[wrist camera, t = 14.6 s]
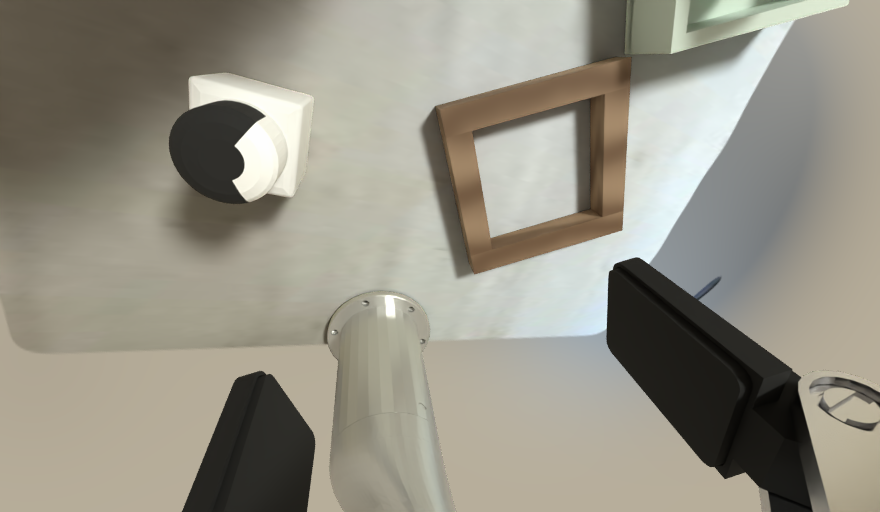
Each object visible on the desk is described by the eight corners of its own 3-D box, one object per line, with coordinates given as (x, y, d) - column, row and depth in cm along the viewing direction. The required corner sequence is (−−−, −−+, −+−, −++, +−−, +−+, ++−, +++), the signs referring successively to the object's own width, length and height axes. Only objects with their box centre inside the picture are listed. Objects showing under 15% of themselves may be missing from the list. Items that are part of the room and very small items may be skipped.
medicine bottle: (222, 156, 32) (155, 203, 22) (223, 71, 29) (146, 78, 19) (306, 174, 34) (280, 225, 24) (315, 96, 31) (290, 115, 21)
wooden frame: (609, 221, 43) (622, 230, 41) (469, 263, 42) (474, 274, 40) (614, 57, 34) (631, 57, 32) (435, 106, 33) (439, 109, 31)
